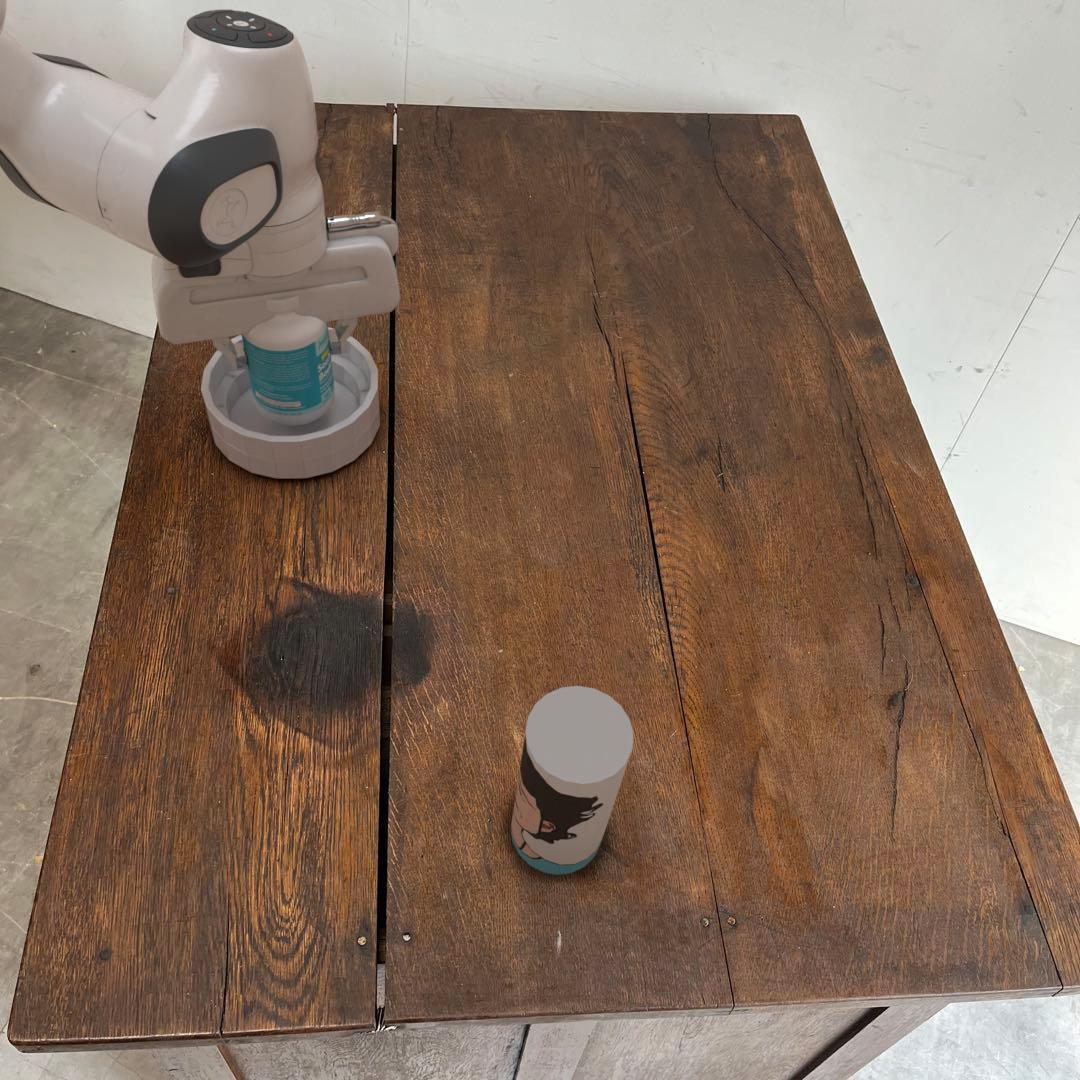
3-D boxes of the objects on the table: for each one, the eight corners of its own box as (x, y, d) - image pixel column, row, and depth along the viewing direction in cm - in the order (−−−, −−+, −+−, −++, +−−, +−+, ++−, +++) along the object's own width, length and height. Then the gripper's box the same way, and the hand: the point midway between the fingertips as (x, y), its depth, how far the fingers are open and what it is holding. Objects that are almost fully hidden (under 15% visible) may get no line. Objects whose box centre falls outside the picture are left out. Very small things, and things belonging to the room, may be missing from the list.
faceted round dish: (202, 484, 93) (191, 442, 89) (220, 365, 103) (211, 321, 98) (379, 482, 95) (377, 441, 90) (380, 365, 104) (378, 323, 100)
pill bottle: (342, 422, 95) (330, 306, 85) (260, 435, 93) (238, 318, 83) (328, 368, 99) (315, 251, 89) (250, 380, 98) (227, 262, 87)
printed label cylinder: (565, 770, 78) (588, 668, 67) (620, 840, 75) (655, 746, 64) (492, 818, 76) (504, 719, 64) (547, 893, 72) (569, 804, 61)
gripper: (388, 187, 86) (393, 318, 97) (132, 218, 81) (167, 352, 91) (407, 232, 82) (410, 362, 93) (140, 266, 77) (176, 400, 88)
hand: (288, 357), depth 92 cm, fingers closed on pill bottle, 7 cm apart
